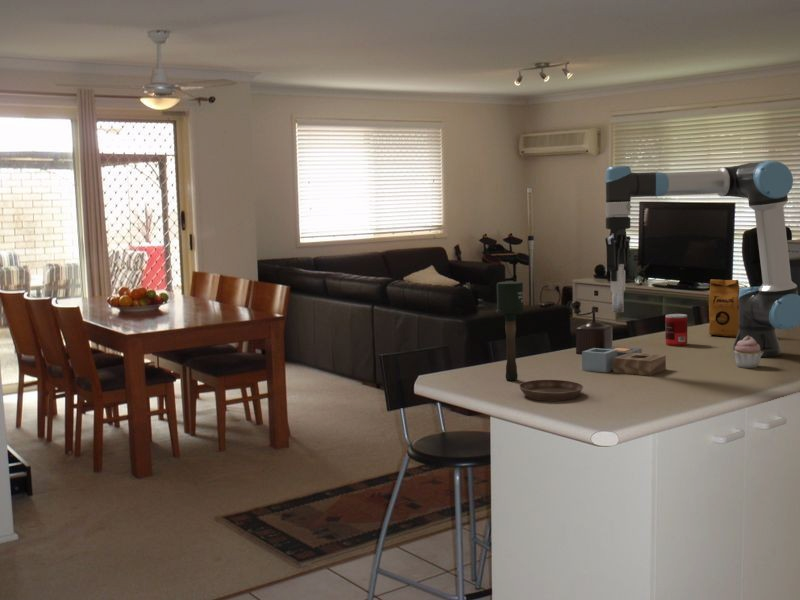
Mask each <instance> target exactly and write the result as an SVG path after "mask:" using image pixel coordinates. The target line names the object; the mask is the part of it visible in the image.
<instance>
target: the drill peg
mask: <svg viewBox="0 0 800 600" xmlns="http://www.w3.org/2000/svg"><path fill="white" fill-rule="evenodd" d="M618 271H620V292H611V293H612V295H611V296H612V299H611V300H612V301H611V303H612V307H611V312H612V313H624V311H625V307H624V306H625V305H624V304H625V301H624V300H625V296H624V295H625V294H624V293H625V291H624V264H619V266H618Z"/></svg>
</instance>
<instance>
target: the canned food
mask: <svg viewBox="0 0 800 600" xmlns="http://www.w3.org/2000/svg"><path fill="white" fill-rule="evenodd" d="M664 321H665V324H664V327H665V330H664V331H665V334H664V335H665V338H664V339H665V345H666V346H669V347H683V346H686V345H687V344H688V314H685V313H684V314H683V313H669V314H665V319H664Z"/></svg>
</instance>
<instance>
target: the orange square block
mask: <svg viewBox="0 0 800 600" xmlns="http://www.w3.org/2000/svg"><path fill="white" fill-rule="evenodd" d="M613 350H617V351H625V352H626V351H629V350H631V349H627V348H615V349H613Z"/></svg>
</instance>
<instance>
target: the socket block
mask: <svg viewBox="0 0 800 600" xmlns="http://www.w3.org/2000/svg"><path fill="white" fill-rule="evenodd" d="M666 360H667V355H666V354H654V353H643V352H642V353H627V354H624V355H621V356H618V357H615V358H614V370H613V373H618V374H620V373H622V374H629V375H638V376H640V375H641V376H653V375H655V374H658V373H660V372H663V371H665V370H667V368H666V367H667V365H666V364H667V361H666Z"/></svg>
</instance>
